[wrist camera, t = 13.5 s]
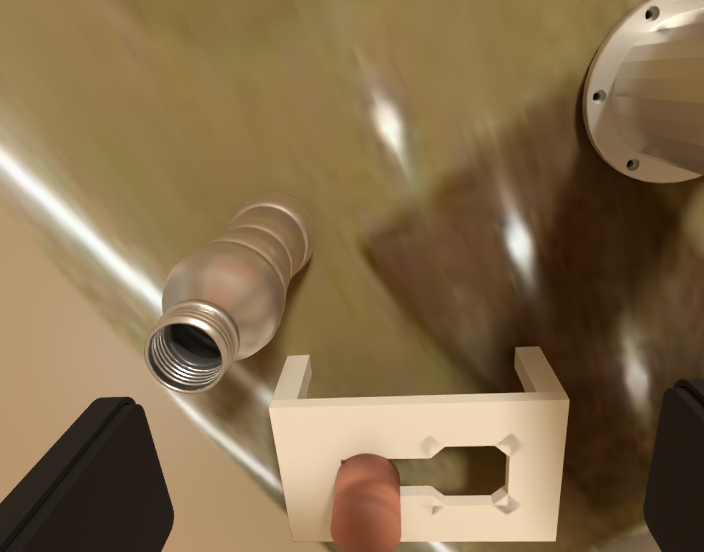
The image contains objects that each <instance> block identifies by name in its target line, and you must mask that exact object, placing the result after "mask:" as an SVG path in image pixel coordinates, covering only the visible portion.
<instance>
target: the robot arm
mask: <svg viewBox="0 0 704 552" xmlns="http://www.w3.org/2000/svg"><path fill="white" fill-rule="evenodd" d="M646 11H648V12H649V17H648V18H647V19H646V18H645V13H646ZM594 93H597V94H598V97H597V99H596V100H593V95H594ZM582 107H583V121H584V125H585V128H586V132H587V136H588V138H589V140H590V142H591V144H592V146H593V147H594V149H595V151H596V152H597V153H598V154H599V156H600V157H601V158H602V159H603V160H604V161H605V162H606V163H607V164H608V165H610V166H611V167H612V168H614V169H615V170H616V171H618V172H620V173H623V174H625V175H627V176H629V177H632V178H635V179H638V180H641V181H644V182H652V183H661V184H662V183H677V182H682V181H686V180H691V179H695V178H698V177H700V176H703V175H704V0H646V1H645V2H643V3H642V4H641V5H639V6H638V7H636V8H635V9H634V10H632V11H631V12H630V13H628V14H627V15H626V16H625V17H624V18H623V19H622V20H621V21H620V22H619V23H618V24H617V25H616V26H615V27H614V28H613V29H612V30H611V32H610V33H609V35H608V36H607V37H606V39H605V40H604V42H603V43H602V44H601V46H600V47H599V49H598V51H597V53H596V55H595V57H594V59H593V61H592V63H591V65H590V68H589V71H588V75H587V78H586V81H585V85H584V92H583V100H582ZM629 160H630V164H629V165H628V166H626V165H627V162H628V161H629ZM644 516H645V521H646V524H647V526H648V528H649V530H650V532H651V534H652V536H653V537H654V539H655V540H656V542H657V544H658V546H659V548H660V549H661V551H662V552H704V379H681V380H679V381H677V382H676V383H675V385H674V388H670V389H667V390H666V392H665V394H664V398H663V403H662V408H661V414H660V419H659V425H658V430H657V436H656V441H655V447H654V452H653V457H652V463H651V468H650V474H649V479H648V485H647V490H646V496H645V501H644ZM173 521H174V511H173V507H172V503H171V500H170V497H169V493H168V490H167V486H166V483H165V479H164V476H163V473H162V469H161V466H160V462H159V459H158V456H157V452H156V449H155V445H154V442H153V439H152V435H151V432H150V429H149V425H148V422H147V418H146V415H145V411H144V409H143V407H142V406H141V405H139V404H136V403H135V401H134V400H133V399H132V398H130V397H105V398H98V399H96V400H95V401H93V402H92V403H91V404H90V406H89V407H88V408H87V409H86V410H85V411H84V412H83V413H82V414H81V415H80V417H79V418H78V419H77V420H76V421H75V422H74V423H73V424H72V425H71V426H70V428H69V429H68V430H67V431H66V432H65V433H64V434H63V435H62V436H61V437H60V439H59V440H58V441H57V442H56V443H55V444H54V445H53V446H52V447H51V448H50V450H49V451H48V452H47V453H46V454H45V455H44V456H43V457H42V458H41V460H39V462H38V463H37V464H36V465H35V466H34V467H33V468H32V469H31V471H30V472H29V473H28V474H27V475H26V476H25V477H24V478H23V479H22V480H21V481H20V482H19V484H18V485H17V486H16V487H15V488H14V489H13V490H12V491H11V492H10V493H9V495H8V496H7V497H6V498H5V499H4V500H3V501H2V502H1V503H0V552H161V551H162V549H163V547H164V545H165V542H166V540H167V538H168V536H169V534H170V532H171V529H172V526H173Z"/></svg>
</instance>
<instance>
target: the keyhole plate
mask: <svg viewBox="0 0 704 552" xmlns="http://www.w3.org/2000/svg"><path fill="white" fill-rule="evenodd" d="M514 367H515V370H516V372H517V374H518V376H519V379H520V381H521V383H522V385H523V388H524V390H525V392H526V393H494V394H460V395H426V396H392V397H358V398H324V399H306V396H307V392H308V388H309V384H310V380H311V376H312V370H311V363H310V355H298V356H287V359H286V362H285V364H284V367H283V370H282V373H281V376H280V378H279V381H278V384H277V387H276V389H275V392H274V395H273V398H272V401H271V403H270V406H269V412H270V418H271V423H272V429H273V434H274V440H275V446H276V451H277V457H278V462H279V468H280V474H281V479H282V485H283V491H284V496H285V502H286V507H287V513H288V519H289V524H290V530H291V535H292V541H293V542H334V541H333V539H332V536H331V533H330V527H331V520H332V512H333V504H334V496H335V488H336V480H337V472H338V469H339V467H340V466H341V464H342V463H343V460H346V459H348V458H350V457H352V456H354V455H358V454H365V453H369V454H376V455H379V456H382V457H384V458H386V459H416V458H432V457H433V456H434V455H435V454H436V453H438V452H439V451H440V450H441V449H443V448H444V447H453V446H496V447H497V448H499V449H500V450H501V451H502V452H504V453H505V454H506V477H505V485H504V486H503V487H501V488H500V489H499V490H497V491H496V492H494V493H493V494H492V495H479V496H444V495H443V494H441V493H440V492H439V491H437V490H436V489H434V488H433V487H432V486H400V503H401V539H400V542H416V541H556V533H557V522H558V512H559V502H560V492H561V482H562V472H563V461H564V451H565V441H566V431H567V421H568V411H569V401H570V400H569V398H568V396H567V394H566V393H565V391H564V389H563V387H562V385H561V384H560V382H559V380H558V378H557V377H556V375H555V373H554V371H553V370H552V368H551V366H550V364H549V363H548V361H547V359H546V357H545V356H544V354H543V352H542V350H541V349H540V347H539V346H535V347H515V365H514Z"/></svg>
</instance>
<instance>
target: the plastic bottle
mask: <svg viewBox="0 0 704 552" xmlns="http://www.w3.org/2000/svg"><path fill="white" fill-rule="evenodd" d="M314 246H315V228H314V223H313V220H312V217H311V215H310V213H309V211H308V210H307V208H306V207H305V206H304V205H303V204H302V203H301V202H300V201H298V200H297V199H296V198H294V197H292V196H290V195H287V194H283V193H275V192H273V193H265V194H261V195H258V196H255V197H253V198H251V199H249V200H248V201H246V202H245V203H244V204H243V205H242V206H241V207H240V208H239V210H238V211H237V212H236V214H235V216H234V217H233V219H232V222H231V224H230V226H229V228H228V230H227V231H226V232H225V233H224V234H222V235H221V236H220V237H218V238H217V239H215V240H212V241H210V242H208V243H206V244H203V245H201V246H199V247H197V248H196V249H194V250H192V251H191V252H189V253H188V254H186V255H184V256H183V257H182V258H181V259H180V260H179V261H178V262H177V263H176V264H175V266H174V267H173V269H172V270H171V272H170V274H169V276H168V279H167V282H166V284H165V288H164V291H163V297H162V309H163V316H162V317H161V318H160V320H159V322H158V324H157V325H156V326H155V327H154V328H153V330H152V331H151V333H150V334H149V336H148V338H147V341H146V343H145V349H144V355H145V361H146V364H147V366H148V368H149V370H150V372H151V373H152V375H153V376H154V377H155V378H156V379H157V380H158V381H159V382H160V383H161V384H162V385H164V386H166V387H167V388H169V389H171V390H173V391H176V392H180V393H185V394H196V393H201V392H205V391H207V390H209V389H211V388H212V387H213V386H215V385H216V384H217V383H218V382H219V381H220V380H221V378H222V377H223V376H224V374H225V372H226V370H227V369H228V368H229V367H230V366H231V364H232V363H233V362H234V361H238V360H241V359H245V358H247V357H249V356H251V355H253V354H255V353H256V352H257V351H259V350H260V349H261V348H263V347H264V346H265V345H266V344H267V343H269V342H270V340H271V339H272V338H273V337H274V335H275V334H276V332H277V330H278V328H279V326H280V323H281V320H282V317H283V313H284V309H285V301H286V294H287V288H288V286H289V282H290V280H291V278H292V277H293V276H294V275H295V274H296V273H297V272H299V271H300V270H301V269H302V268H303V267H304V265H305V264H306V263H307V262H308V260H309V259H310V257H311V255H312V253H313V250H314Z"/></svg>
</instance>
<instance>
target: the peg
mask: <svg viewBox="0 0 704 552" xmlns="http://www.w3.org/2000/svg"><path fill="white" fill-rule="evenodd" d="M330 533H331V536H332V539H333V541H334V542H335V543H336V545H337V546H338V547H339V548H341V549H342V550H343V551H345V552H390V551H392V550H393V549H394V548H395V547H396V546H397V545H398V543H399V542H400V539H401V503H400V476H399V472H398V470H397V468H396V467H395V465H394V464H393V463H392V462H391V461H389V460H388V459H386V458H384V457H382V456H379V455H376V454H369V453H365V454H358V455H354V456H352V457H350V458H348V459H346V460H345V461H344V462H343V463H342V464H341V466H340V467H339V469H338V472H337V480H336V488H335V496H334V504H333V512H332V520H331V527H330Z"/></svg>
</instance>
